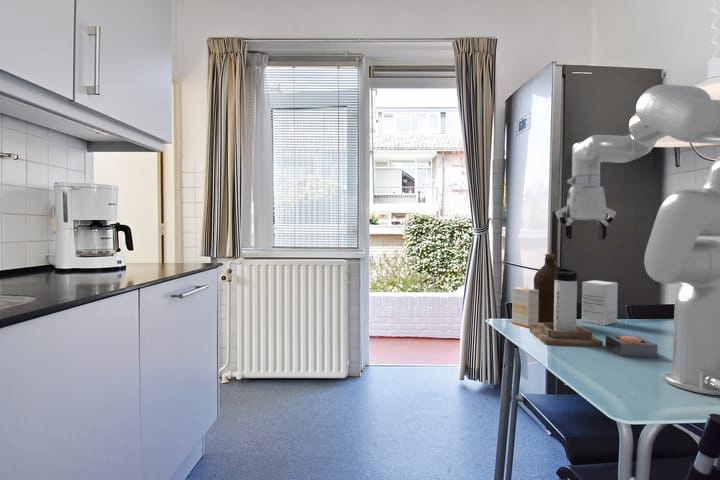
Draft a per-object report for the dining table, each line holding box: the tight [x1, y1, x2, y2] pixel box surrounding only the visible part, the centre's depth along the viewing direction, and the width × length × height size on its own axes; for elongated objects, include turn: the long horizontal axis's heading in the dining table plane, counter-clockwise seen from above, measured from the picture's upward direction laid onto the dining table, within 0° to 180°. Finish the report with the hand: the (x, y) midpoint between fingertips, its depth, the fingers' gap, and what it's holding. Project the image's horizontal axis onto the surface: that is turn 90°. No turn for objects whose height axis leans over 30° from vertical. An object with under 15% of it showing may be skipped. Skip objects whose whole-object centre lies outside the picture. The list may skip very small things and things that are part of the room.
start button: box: [619, 335, 641, 343], centre depth 117 cm, size 5×5×3 cm
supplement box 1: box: [511, 286, 539, 328], centre depth 150 cm, size 8×5×13 cm, turn 22°
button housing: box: [605, 334, 658, 359], centre depth 117 cm, size 9×9×4 cm
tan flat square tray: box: [529, 322, 604, 348], centre depth 131 cm, size 16×16×4 cm
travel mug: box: [554, 268, 578, 331], centre depth 131 cm, size 6×7×20 cm
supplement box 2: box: [581, 279, 619, 326], centre depth 156 cm, size 9×9×15 cm
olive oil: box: [533, 253, 560, 323], centre depth 155 cm, size 11×11×25 cm
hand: (584, 239), depth 129 cm, fingers open, 9 cm apart
